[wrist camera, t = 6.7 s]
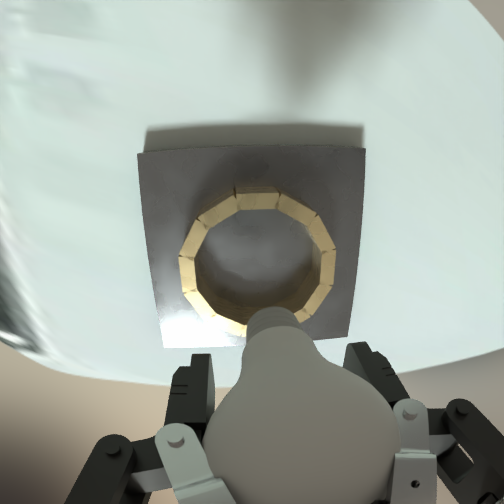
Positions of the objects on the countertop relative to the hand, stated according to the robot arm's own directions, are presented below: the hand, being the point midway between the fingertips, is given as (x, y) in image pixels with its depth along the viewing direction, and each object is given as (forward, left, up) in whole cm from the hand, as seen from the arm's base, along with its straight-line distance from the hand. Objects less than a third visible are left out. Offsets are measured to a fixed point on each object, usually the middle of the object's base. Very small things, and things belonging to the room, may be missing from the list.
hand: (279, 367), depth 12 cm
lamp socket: (0, 0, -13) cm, 13 cm away
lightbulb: (0, 0, -4) cm, 4 cm away
